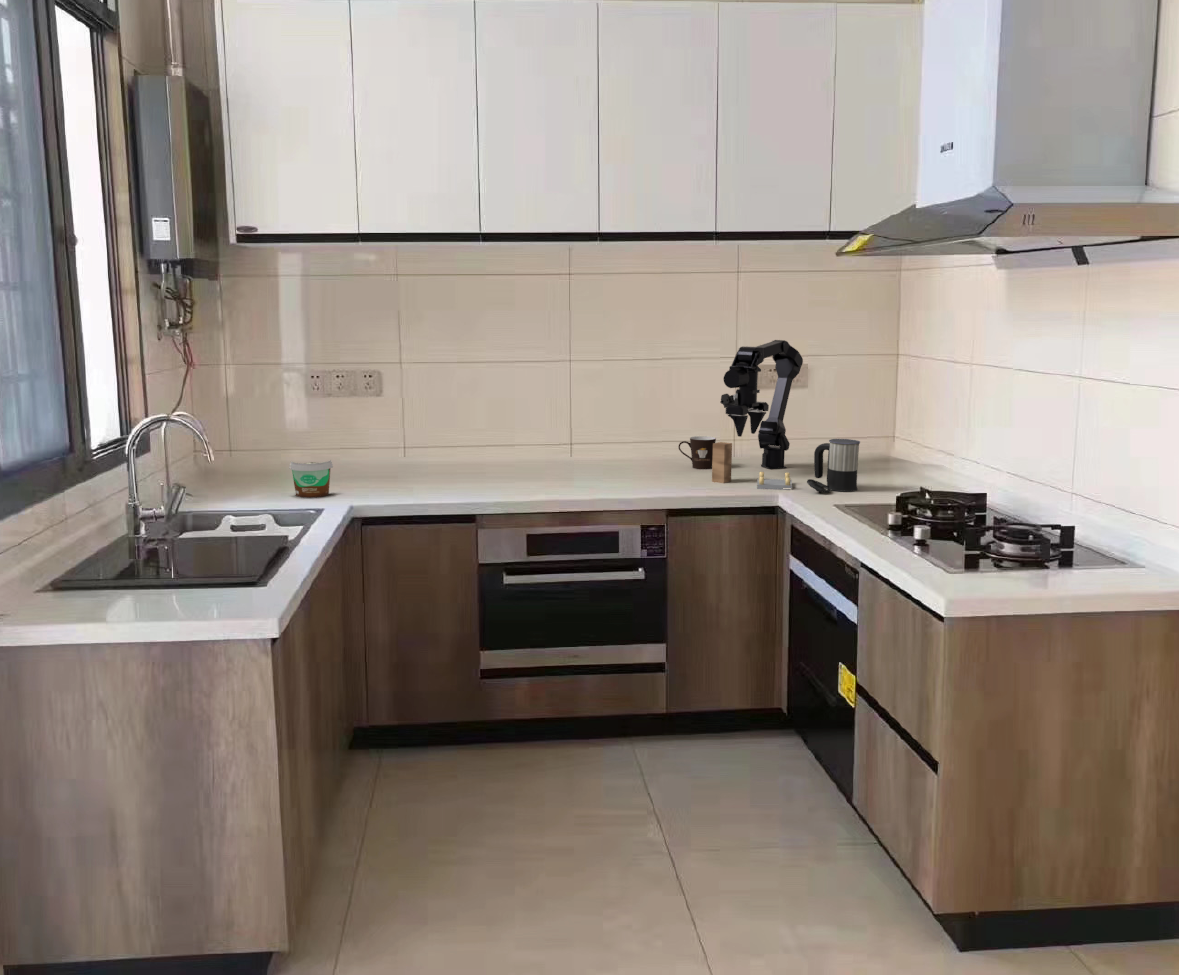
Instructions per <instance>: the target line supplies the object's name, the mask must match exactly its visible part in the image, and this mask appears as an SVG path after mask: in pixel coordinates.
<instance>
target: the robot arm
mask: <svg viewBox="0 0 1179 975" xmlns="http://www.w3.org/2000/svg"><path fill="white" fill-rule="evenodd" d="M770 357H771V358H772V360H773V361H774V363H775V367H774V368H775V371H776V374H777V380H776V384H775V388H774V392H773V396H772V401H771V406H770V409H769V404H768V403H767V402H766V401H758V394H760V391H761V390H760V389H758V379H759V378H758V377H759V373H760V372H762V369H761V368H760V367H759V365H760V364H762V363H763V362H764V361H765V359H766V358H770ZM803 364H804V359H803V356H802V355H801V353H800V352H799V351H798V350H797V349H796V348H795V347H793V346H792V345H790V343H789V342H788V341H787V340H782V339H774V340H771V341H770V342H766V343H763V344H759V345H756V346H740V347H739V348H738V350H737V352H736V354H735V356H734V359H733V360H732V363H731V365H730V366H729V370H727V371H726V372H725V373H724V376H723V383H724V385H725V386H726V387H727V388H729V389H734V388H735V389H736V388H738V389H736V390H735V394H732V395H731V394H729V393H723V394H721V397H720V404H722V405H723V408H725V412H724V413H725V415H727V417H729V418H730V419H732V421H733V423H734V427H735V431H736V434H737V437H742V436H743V433H744V430H745V427H746V424H747V420H748V418H749V419H750V420H749V422H750V433H751V434H752V435H754V434H756V432H757V430H758V434H757V439H758V445H759V449H763V453H761V454H762V455H761V457H762V459H761V460H762V461H761V464H760V466H761V467H763V468H766V469H770V470H772V469H775V470H777V469H786V468H787V466H785V454H786V453H785V451H788V450H789V448H790V444H791V443H790V441H789V439H788V438H787V436H786V430H787V429H786V426H785V423H784V418H785V413H786V409H787V405H788V400H789V397H790V392H791V388H792V383H793V381H794V379H795V378H796V377H797V376H798V375H799V374H800V371H801V369H802V366H803ZM767 412H769V415H768V417H767V418H766V420H763V419H764V417H765V415H766V414H767ZM759 426H760V427H759ZM758 428H759V429H758Z"/></svg>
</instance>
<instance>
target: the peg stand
mask: <svg viewBox="0 0 1179 975" xmlns="http://www.w3.org/2000/svg"><path fill="white" fill-rule="evenodd" d="M790 475H791V473H790V472H785V473H784V479H783V478H782V479H781V478H779V479H778V478H765V472H764V471H759V475H758V476H759V478H757V479H756V483H757V484H756V488H757V489H761V490H762V489H763V490H764V489H765V490H784V489H783V488H792V489H793V483H792V481H793V480H792V479H791V477H790Z"/></svg>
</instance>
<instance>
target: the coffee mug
mask: <svg viewBox="0 0 1179 975" xmlns="http://www.w3.org/2000/svg"><path fill="white" fill-rule="evenodd" d="M716 440H717V438H716V437H714V436H707V435H701V436H700V435H699V436H697V435H696V436H691V437H689V441H686V440H684V441H680V442H679V444H678V450H679V451H680V453H681V454H682V455H683V456H685V457H687V458H688V459H689V460H690V461H691V464H692V469H695V470H712V460H713V443H717V442H716ZM683 444H687V445H688V447H689V448H690V453H691V454H690V455H691V456H690V455H688V454H686V453H685V452H684V451H683V450H682V449H681V445H683Z"/></svg>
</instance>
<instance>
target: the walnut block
mask: <svg viewBox="0 0 1179 975" xmlns="http://www.w3.org/2000/svg"><path fill="white" fill-rule="evenodd" d="M732 458H733V443H732V442H724V441H719V442H715V443H713V460H712V468H711V482H713V483H719V484H726V483H729V482H732V462H733V459H732Z"/></svg>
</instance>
